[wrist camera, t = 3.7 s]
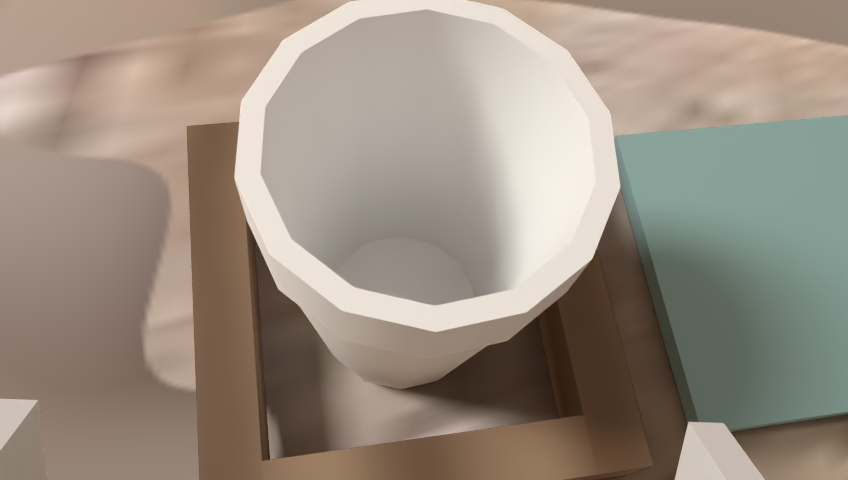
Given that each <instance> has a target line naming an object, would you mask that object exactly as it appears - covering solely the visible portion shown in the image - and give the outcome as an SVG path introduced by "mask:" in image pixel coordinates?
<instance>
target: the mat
mask: <svg viewBox="0 0 848 480" xmlns="http://www.w3.org/2000/svg"><path fill="white" fill-rule="evenodd" d="M614 143H615V151H616V158H617V165H618V172H619V179H620V188H621V191H622V195H623V198H624V202H625V205H626V209H627V212H628V216H629V219H630V223H631V227H632V230H633V234H634V237H635V241H636V244H637V248H638V251H639V255H640V258H641V262H642V265H643V269H644V273H645V276H646V280H647V283H648V287H649V290H650V294H651V297H652V301H653V304H654V308H655V311H656V315H657V318H658V322H659V326H660V329H661V333H662V336H663V340H664V343H665V347H666V350H667V354H668V357H669V361H670V364H671V368H672V372H673V375H674V379H675V382H676V386H677V389H678V393H679V396H680V400H681V403H682V407H683V410H684V414H685V417H686V421H687V425H688V422H708V423H724V424H725V426H726V427H727V428H728V430H729V431H730V432H732V431H739V430H746V429H752V428H759V427H766V426H772V425H779V424H786V423H792V422H799V421H805V420H812V419H819V418H825V417H832V416H839V415H845V414H848V115H845V116H834V117H822V118H811V119H800V120H789V121H778V122H766V123H755V124H744V125H733V126H722V127H710V128H699V129H688V130H677V131H666V132H654V133H643V134H632V135H621V136H616V137H615V139H614Z"/></svg>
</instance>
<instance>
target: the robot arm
mask: <svg viewBox="0 0 848 480" xmlns="http://www.w3.org/2000/svg"><path fill="white" fill-rule="evenodd" d="M0 480H48V476H47V469H46V460H45V452H44V444H43V435H42V427H41V419H40V411H39V403H38V400H17V399H16V400H15V399H0ZM675 480H765V479H764V478H763V476H762V475H761V474H760V472H759V471H758V470H757V468H756V467H755V465H754V464H753V463H752V461H751V460H750V459H749V457H748V456H747V454H746V453H745V452H744V450H743V449H742V448H741V446H740V445H739V443H738V442H737V441H736V439H735V438H734V437H733V435H732V434H731V432H730V431H729V430H728V428H727V427H726V426H725V424H724V423H708V422H688V426H687V430H686V434H685V438H684V442H683V447H682V451H681V455H680V459H679V464H678V468H677V472H676V476H675Z"/></svg>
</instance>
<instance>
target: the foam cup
mask: <svg viewBox="0 0 848 480" xmlns="http://www.w3.org/2000/svg"><path fill="white" fill-rule="evenodd" d="M234 179H235V182H236V186H237V189H238V192H239V196H240V199H241V202H242V206H243V209H244V212H245V216H246V219H247V222H248V224H249V226H250V228H251V230H252V233H253V235H254V237H255V239H256V241H257V244H258V246H259V248H260V250H261V252H262V255H263V257H264V259H265V261H266V263H267V266H268V268H269V270H270V272H271V274H272V277H273V279H274V281H275V283H276V285H277V288H278V290H280V291H281V292H282V293H283V294H285V295H286V296H287V297H289V298H290V299H291V300H292V301H294V302H295V303H296V304H297V305H299V306H300V308H301V309H302V311H303V312H304V314H305V315H306V316H307V318H308V319H309V321H310V322H311V324H312V325H313V327H314V328H315V330H316V331H317V332H318V334H319V335H320V337H321V338H322V340H323V341H324V343H325V344H326V345H327V347H328V348H329V350H330V351H331V353H332V354H333V356H334V357H336V359H337V360H338V361H340V362H341V363H342V364H343V365H345V366H346V367H347V368H348V369H350V370H351V371H352V372H353V373H355V374H356V375H357V376H358V377H360V378H361V379H362V380H363V381H365V382H370V383H374V384H378V385H383V386H387V387H392V388H396V389H405V388H409V387H413V386H418V385H422V384H426V383H431V382H435V381H437V380H439V379H441V378H442V377H443V376H445V375H446V374H448V373H449V372H450V371H452V370H453V369H455V368H456V367H458V366H459V365H460V364H462V363H463V362H465V361H466V360H468V359H469V358H470V357H472V356H473V355H475V354H476V353H477V352H479V351H480V350H482V349H483V348H485V347H486V346H488V345H492V344H496V343H501V342H505V341H508V340H509V339H510V338H512V337H513V336H514V335H515V334H516V333H518V332H519V331H520V330H521V329H522V328H524V327H525V326H526V325H527V324H529V323H530V322H531V321H532V320H533V319H535V318H536V317H537V316H538V315H539V314H541V313H542V312H543V311H544V310H546V309H547V308H548V307H549V306H550V305H552V304H553V303H554V302H555V301H557V300H558V299H559V298H560V297H561V296H563V295H564V294H565V293H566V292H567V291H568V290H569V288H570V287H571V286H572V284H573V283H574V282H575V281H576V279H577V278H578V277H579V275H580V274H581V273H582V272H583V270H584V269H585V268H586V266H587V265H588V264H589V262H590V261H591V260H592V258H593V256H594V253H595V251H596V248H597V246H598V243H599V241H600V238H601V235H602V233H603V230H604V228H605V225H606V223H607V220H608V218H609V215H610V213H611V210H612V208H613V205H614V202H615V200H616V197H617V195H618V192H619V190H620V179H619V172H618V165H617V158H616V151H615V143H614V136H613V129H612V122H611V115H610V112H609V111H608V109H607V108H606V106H605V105H604V103H603V102H602V100H601V99H600V97H599V96H598V94H597V93H596V91H595V90H594V89H593V87H592V86H591V84H590V83H589V81H588V80H587V78H586V77H585V75H584V74H583V72H582V71H581V69H580V68H579V66H578V65H577V63H576V62H575V61H574V59H573V58H572V56H571V55H570V53H569V52H568V51H567V50H566V49H564V48H563V47H561V46H560V45H558V44H557V43H555V42H554V41H552V40H551V39H549V38H547V37H546V36H544V35H543V34H541V33H540V32H538V31H537V30H535V29H534V28H532V27H531V26H529V25H528V24H526V23H525V22H523V21H522V20H520V19H518V18H517V17H515V16H514V15H512V14H511V13H509V12H508V11H506V10H505V9H503V8H499V7H494V6H490V5H485V4H481V3H476V2H472V1H468V0H358V1H351V2H348V3H346V4H344V5H343V6H341V7H339V8H338V9H336V10H334V11H332V12H331V13H329V14H327V15H325V16H324V17H322V18H320V19H318V20H317V21H315V22H313V23H311V24H310V25H308V26H306V27H305V28H303V29H301V30H299V31H298V32H296V33H294V34H292V35H291V36H289V37H287V38H285V39H284V40H283V41H282V42H281V44H280V45H279V47H278V48H277V50H276V51H275V53H274V54H273V56H272V57H271V59H270V60H269V61H268V63H267V64H266V66H265V67H264V69H263V70H262V72H261V73H260V75H259V76H258V78H257V79H256V80H255V82H254V83H253V85H252V86H251V88H250V89H249V91H248V92H247V94H246V95H245V97H244V98H243V100H242V101H241V109H240V120H239V131H238V142H237V153H236V164H235V175H234Z"/></svg>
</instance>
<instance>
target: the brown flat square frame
mask: <svg viewBox="0 0 848 480" xmlns="http://www.w3.org/2000/svg"><path fill="white" fill-rule="evenodd" d="M238 131H239V122H231V123H219V124H207V125H194V126H187V149H188V177H189V205H190V233H191V261H192V289H193V317H194V345H195V373H196V399H197V425H198V426H197V428H198V456H199V480H600V479H607V478H613V477H619V476H625V475H628V474H631V473H634V472H637V471H639V470H642V469H645V468H648V467H651V466H653V462H652V459H651V455H650V451H649V447H648V443H647V439H646V435H645V432H644V428H643V424H642V420H641V416H640V412H639V409H638V405H637V401H636V397H635V393H634V389H633V386H632V382H631V378H630V374H629V370H628V366H627V362H626V359H625V355H624V351H623V347H622V343H621V339H620V336H619V332H618V328H617V324H616V320H615V316H614V313H613V309H612V305H611V301H610V297H609V293H608V289H607V286H606V282H605V278H604V274H603V270H602V266H601V263H600V259H599V255H598V251H597V248H596V251H595V253H594V256H593V258H592V260H591V261H590V262H589V264H588V265H587V266H586V268H585V269H584V270H583V272H582V273H581V274H580V275H579V277H578V278H577V279H576V281H575V282H574V283H573V284H572V286H571V287H570V288H569V290H568V291H567V292H566V293H565V294H564V295H563V296H561V297H560V298H559V299H558V300H557V301H555V302H554V303H553V304H552V305H550V306H549V307H548V308H547V309H546V310H544V311H543V312H542V313H541V314H539V315H538V316H537V319H538V324H539V328H540V333H541V337H542V342H543V347H544V351H545V356H546V360H547V365H548V369H549V374H550V379H551V383H552V388H553V392H554V397H555V401H556V406H557V411H558V415H559V419H552V420H545V421H538V422H531V423H524V424H517V425H510V426H503V427H496V428H489V429H482V430H475V431H468V432H461V433H454V434H447V435H440V436H433V437H426V438H419V439H412V440H405V441H398V442H391V443H384V444H377V445H370V446H363V447H356V448H349V449H342V450H335V451H328V452H321V453H314V454H307V455H300V456H293V457H286V458H279V459H272V460H270V455H269V441H268V426H267V412H266V398H265V383H264V369H263V355H262V341H261V327H260V313H259V299H258V285H257V271H256V257H255V243H254V235H253V233H252V230H251V228H250V226H249V224H248V222H247V219H246V216H245V212H244V209H243V206H242V202H241V199H240V196H239V192H238V189H237V186H236V182H235V179H234V175H235V164H236V153H237V142H238Z"/></svg>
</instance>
